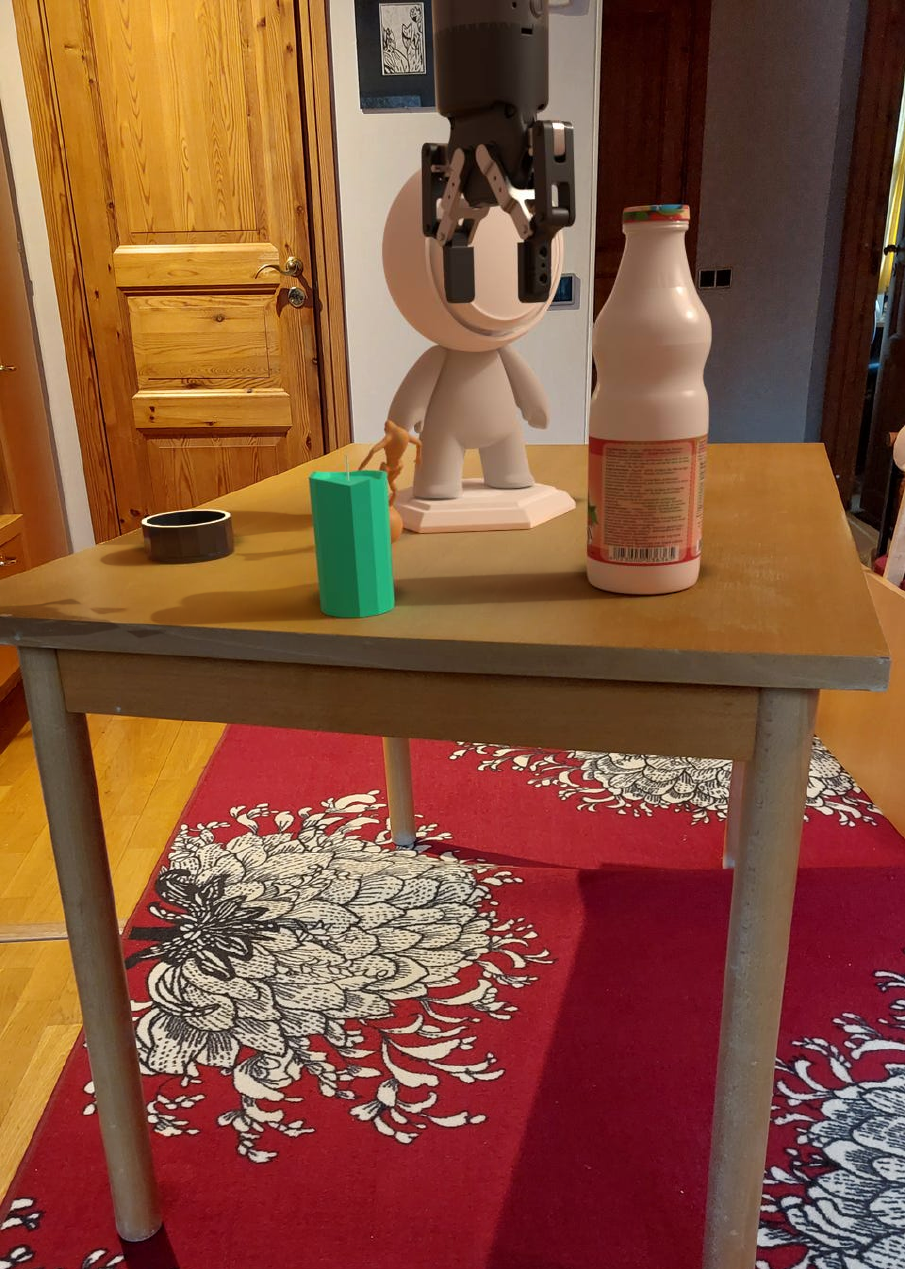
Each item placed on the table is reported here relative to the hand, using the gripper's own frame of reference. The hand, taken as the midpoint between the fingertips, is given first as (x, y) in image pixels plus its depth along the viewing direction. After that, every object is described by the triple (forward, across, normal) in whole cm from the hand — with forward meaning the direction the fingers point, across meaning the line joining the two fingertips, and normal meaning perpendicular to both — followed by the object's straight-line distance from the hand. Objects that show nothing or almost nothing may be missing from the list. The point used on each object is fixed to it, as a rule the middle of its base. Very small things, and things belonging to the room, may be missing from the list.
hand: (495, 303), depth 78 cm
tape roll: (+22, -37, -11) cm, 44 cm away
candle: (+22, -8, -9) cm, 25 cm away
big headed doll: (+22, -33, +21) cm, 45 cm away
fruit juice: (+22, +2, +13) cm, 26 cm away
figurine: (+22, -25, +5) cm, 34 cm away
